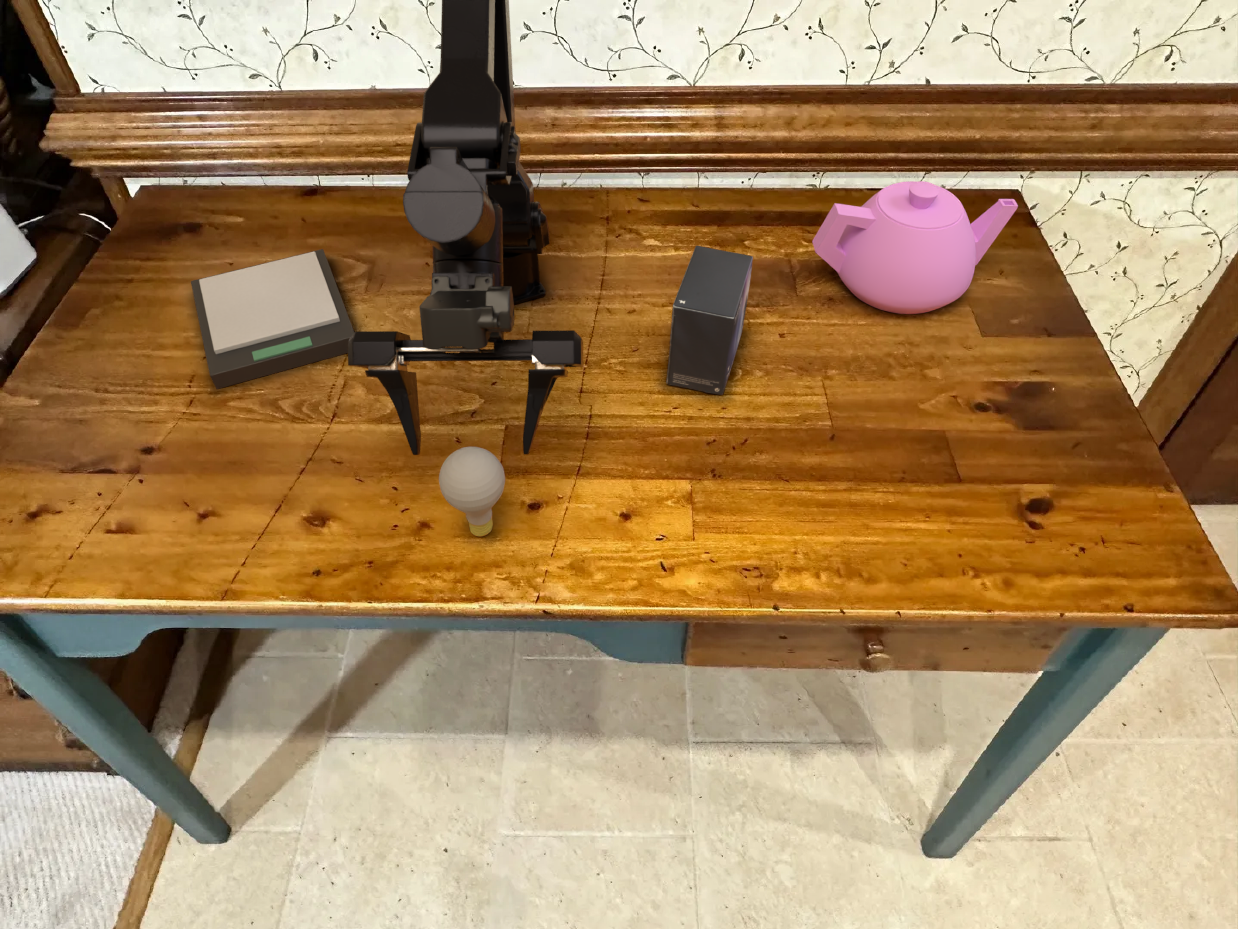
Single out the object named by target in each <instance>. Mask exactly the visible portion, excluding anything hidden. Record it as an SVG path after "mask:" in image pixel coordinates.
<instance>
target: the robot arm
mask: <svg viewBox="0 0 1238 929" xmlns="http://www.w3.org/2000/svg"><path fill="white" fill-rule="evenodd" d="M510 17H511V16H510V0H441V20H440V21H441V22H440V25H441V26H440V63H439V72H438V74H437V75H436V77H435V78H434V79H433V80H432V82H431V83H430V84H429V86H428V87H427V88H426V90H425V91H424V94H423V101H422V113H421V114H422V115H421V122H417V123H416V125H415V129H414V135H413V140H412V144H411V149H410V156H409V160H408V165H407V166H408V167H407V171H406V174H407V179H408V183H407V184H406V187H405V191H404V193H403V195H402V206H403V211H404V215H405V217H406V219H407V221H408V223H409V224H410V226H411V228H412V229H413V230H414V231H415V232H416V233H418V234H419V235H420V236H421V237H422V238H423V239H425V240H426V241H427V242H428V243H429V244H430V245H432V272H431V290H430V293H429V295H427V297H426V298H425V299H424V300H423V301H422V302H421V304H420V305H419V307H418V308H419V317H420V318H419V319H420V328H421V329H420V330H421V339H411V335H410V334H406V333H403V332H401V331H397V330H396V331H395V330H393V331H392V330H391V331H389V330H388V331H387V330H386V331H385V330H384V331H383V330H382V331H381V330H380V331H379V330H373V331H369V330H368V331H366V330H365V331H359V330H357V331H356V330H355V331H354V332H355V333H354V334H353V335H352V336H351V338H350V339H349V343H348V353H347V365H348V366H349V367H356V368H364V369H366V370H364V374H365V376H366V378H375V379H378V381H379V382H380V384H381V385H382V386H383V388H384V389H385V391H386V393H387V395H388V396H389V398H390V400H391V402H392V403H393V406H394V408H395V410H396V413H397V415H398V418H399V421H400V424H401V427H402V430H403V433H404V435H405V437H406V441H407V443H408V446H409V449H410V451H411V454H412V455H413V456H420V454H421V444H422V433H421V432H422V431H421V419H420V407H419V406H420V405H419V395H418V394H419V392H418V380H417V379H418V378H417V372H416V371H415V372H414V371H409V370H408V366H410V363H411V362H531V364H532V365H534V368H531V369H530V368H529V369H528V371H527V373H528V374H527V396H526V404H525V413H524V414H525V415H524V424H523V432H522V433H523V434H522V444H523V445H522V448H523V449H522V450H523V451H522V453H523V455H524V456H525V455H530V453H531V450H532V446H533V443H534V440H535V437H536V434H537V430H538V427H539V423H540V421H541V418H542V414H543V411H544V408H545V406H546V403H547V401H548V399H549V397H550V395H551V392H552V391H553V389H554V386H555V384H556V382H557V380H558V379H559V378H562V379H563V378H566V379H567V378H569V371H568V369H567V368H584V340H583V338H582V337H581V336H580V335H579V334H578V333H577V332H576V331H575V330H574V329H573V330H566V329H563V330H562V329H561V330H559V329H558V330H556V329H555V330H532V335H531V339H530V338H528V339H525V338H524V339H523V338H521V339H518V338H517V339H513V338H511V339H509V338H508V339H505V333H511V332H512V331H513V328H514V326H515V305H517V304H521V303H524V302H528V301H532V300H536V299H539V298H543V297H545V296H546V294H547V290H546V289H545V287H544V285H543V284H542V282H541V276H540V265H539V255H543V249H544V248H545V247H547V246H549V245H550V241H551V240H550V230H549V223H548V219H547V215H546V214H545V213H544V209H543V208H542V204H541V203H540V201H535V195H534V194H535V193H534V183H533V181H532V179H531V177H530V176H529V175H528V173H527V171H526V170H525V169H524V167H523V165H522V164H521V162H520V158H521V151H522V150H521V148H522V147H521V144H522V143H521V137H520V136H519V135H518V134H517V133H516V131H517V130H516V129H517V128H516V114H515V112H516V110H515V92H514V78H513V77H514V75H513V74H514V73H513V72H514V71H513V57H512V56H513V55H512V38H511V18H510ZM489 343H490V344H493V348H486V347H487V346H488V345H489Z"/></svg>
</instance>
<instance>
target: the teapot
mask: <svg viewBox="0 0 1238 929" xmlns="http://www.w3.org/2000/svg"><path fill="white" fill-rule="evenodd" d="M1018 207H1019V205H1018V203H1017V201H1016V200H1015V199H1014V198H998V200H997V201H996V202H995V203H994V204H993V205H992V206H990V208H987V210H986V211H985V212H983V213H982V214H981V215H980V216H978V217H977V218H976V219H975V220H974V221H972V222H971V223H970V220H969V217H968V213H967V212H966V209H965V208H964V205H963V203H962V202H961V201H960V200H959V198H958V197H957V196H956V194H955V195H954V194H953V193H952V192H951V191H949V190H948V189H946V188H944V187H942V186H939V185H936V184H934V183H933V182H930V181H924V180H919V181H918V180H917V181H914V180H913V181H909V180H907V181H900V182H896V183H892V184H889V185H887V186H885V187H883V188H881V190H879V191H877V192H876V193H875V194H873V195H872V196H871V197H870V198H869V199H868V200H867V201H866V202H864V203H863V205H861V206H856V205H850V204H844V203H836V202H834V204H833V205H832V206H831V209H830V210H829V212H828V213H827V215H826V217H825V219H824V221H823V222H822V224H821V226H820V227H819V229H818V231H817V232H816V234H815V236H814V238H813V239H812V240H811V241H812V246H813V249H814V252H815V254H817V255H818V256H819V258H821V259H822V260H823V261H824V262H826V263H827V264H828V265H829V266H830V267H831V268H833V270H835V271H836V273H837V275H838V276H839V278H840V281H842V283H843V284H844V285H845V286H846V288H847V289H848V290H849V291H850V292H851V293H852V294H853V296H854V297H856V298H857V299H858V300H860V301H861V302H863V303H865V304H866V305H869V306H870V307H872V308H876V309H878V310H880V311H884V312H888V313H893V314H899V315H900V314H901V315H916V314H917V315H918V314H925V313H928V312H933V311H935V310H938V309H941V308H943V307H945V306H947V305H950V304H951V303H953V302H955V301H956V300H959V298H961V297H962V296H963V295H964V294H965V293H966V291H967V290H968V289H969V287H970V286H971V283H972V281H973V278H974V275H975V269H976V268H975V267H976V266H977V265H978V264H979V263H980V261H981V260H982V258H983V257H984V255H985V254H986V253H987V251H988V250H989V249H990V247H991V245H993V243H994V242H995V240H996V239H997V237H998V236H999V234H1000V233H1001V232H1002V230H1003V229H1004V228H1005V226H1006V225H1007V223H1008V222H1009V221H1010V219H1011V218H1012V216H1013V215H1014V214H1015V212H1016V211H1017V209H1018Z"/></svg>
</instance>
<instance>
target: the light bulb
mask: <svg viewBox="0 0 1238 929" xmlns="http://www.w3.org/2000/svg"><path fill="white" fill-rule="evenodd" d="M438 483H439V490H440V492H441V495H442V496H443V498H444V500H445V501H446V502H447V503H448V504H449V505H450V506H451V507H453V508H454V509H456V510H458V511H459V512H462V513H464V514H465V519H466V521H468V526H469V532H470V533H471V534H472V535H473V536H475V537H484V536H486V535H489V533H491V531H492V529H493V527H494V523H493V522H494V521H493V510H492V508H493V507H494V505H496V504H497V502H498V501H499V499H500V498H501V497H502V495H503V493H504V489H505V484H506V475H505V469H504V466H503V464H502V463H501V461H500V460H499V459H498V457H497V456H496V455H495V454H494V453H493V452H491V451H489V450H488V449H486V448H483V447H479V446H465V447H461V448H458V449H456V450H455V451H453V452H452V453H450V454H449V455H448V456H447V457H446V458H445V460H444V461H443V463H442V465H441V467H440V470H439V474H438Z"/></svg>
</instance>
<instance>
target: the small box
mask: <svg viewBox="0 0 1238 929" xmlns="http://www.w3.org/2000/svg"><path fill="white" fill-rule="evenodd" d="M689 259H690V260H689V262H688V265H687V268H686V270H685V272H684V275H683V276H682V280H681V283H680V286H679V288H678V291H677V294H676V295H675V296H676V297H675V299H674V301H673V304H672V308H671V311H672V312H671V322H670V323H671V324H670V336H669V350H668V351H669V352H668V362H667V371H666V380H665V383H666V384H667V385H669V386H673V387H679V388H684V389H690V390H694V391H699V392H703V393H706V394H707V393H708V394H711V395H718V396H723V395H724V392H725V391H726V390H725V389H726V387H727V383H728V380H729V377H730V373H731V370H732V367H733V365H734V361H735V357H736V355H737V351H738V348H739V345H740V340H741V336H742V333H743V329H744V324H745V318H746V317H745V316H746V312H747V305H748V298H749V291H750V285H751V278H752V271H753V270H752V269H753V260H754V256H753V255H749V254H745V253H744V254H743V253H738V252H735V251H734V252H733V251H728V250H722V249H717V248H711V247H706V246H703V245H695V247H694V250H693V252H692V254H691V257H690V258H689Z"/></svg>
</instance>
